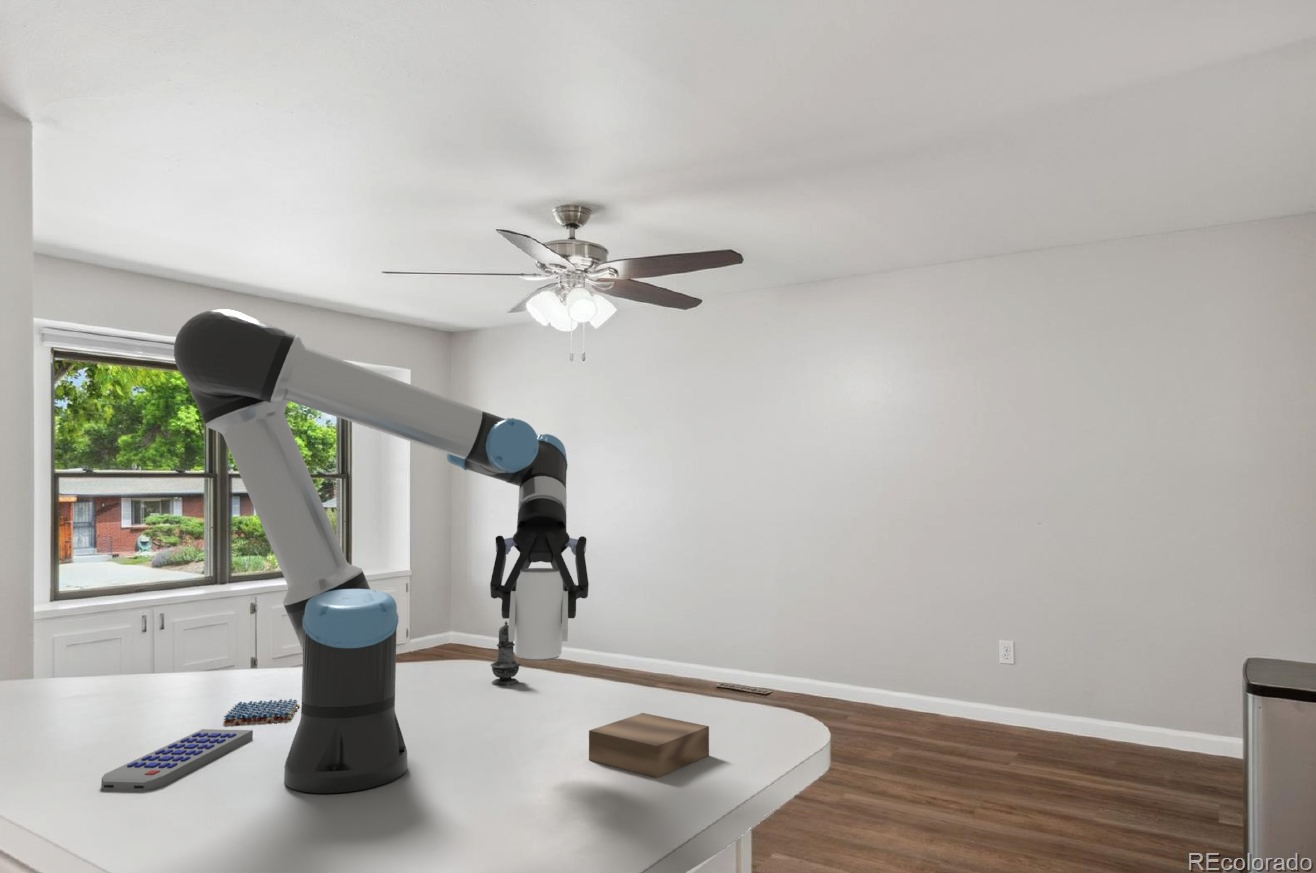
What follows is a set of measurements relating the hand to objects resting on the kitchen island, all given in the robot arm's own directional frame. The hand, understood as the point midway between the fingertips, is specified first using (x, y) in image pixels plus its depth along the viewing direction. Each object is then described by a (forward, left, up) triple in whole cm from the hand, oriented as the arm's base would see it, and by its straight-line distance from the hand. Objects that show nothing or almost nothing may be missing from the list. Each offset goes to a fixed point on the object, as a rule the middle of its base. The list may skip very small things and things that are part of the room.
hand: (538, 635), depth 112 cm
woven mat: (-8, +56, -18) cm, 60 cm away
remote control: (-27, +42, -18) cm, 53 cm away
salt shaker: (+34, +43, -18) cm, 58 cm away
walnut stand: (+14, -9, -18) cm, 24 cm away
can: (+2, +3, -4) cm, 5 cm away
